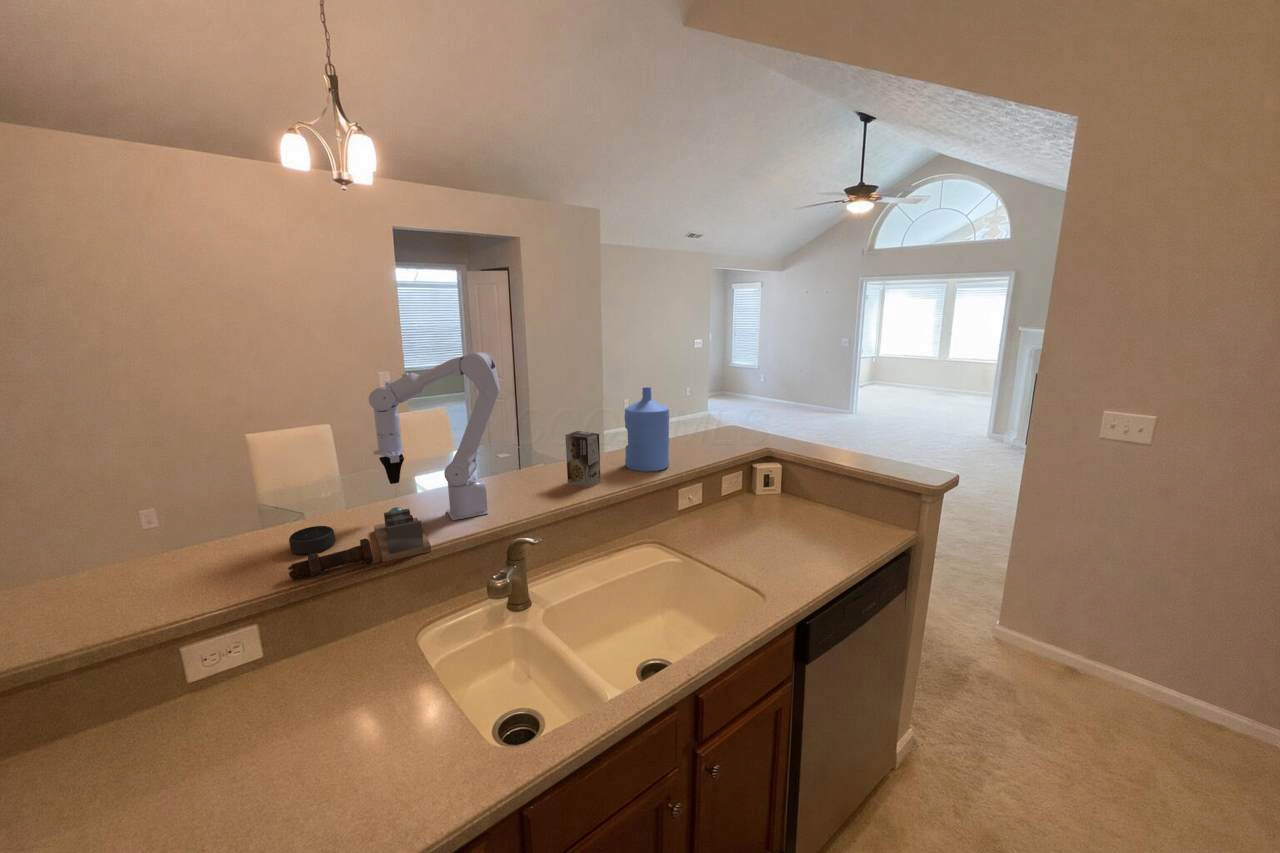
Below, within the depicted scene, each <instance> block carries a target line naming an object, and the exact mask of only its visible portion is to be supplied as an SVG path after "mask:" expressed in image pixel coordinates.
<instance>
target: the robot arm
mask: <svg viewBox="0 0 1280 853" xmlns="http://www.w3.org/2000/svg"><path fill="white" fill-rule="evenodd" d="M451 375H455V376H463V375H464V376H465V377H466V378H467V379H469V380H470V381H471V382H472V383H473V384H474V386H475V388H476V389H477V392H478V395H477V398H476V401H475V403H474V406H473V409H472V412H471V414H470V417H469V420H468V422H467V424H466V427H465V431H464V433H463V436H462V439H461V441H460V444H459V446H458V448H457V450H456V452H455V454H454V456H453V458H452V461H451V462H450V463H449V464H448V465H447V466H446V467H445V469H444V472H443V473H444V478H445V481H447V489H448V490H447V491H448V498H449V500H448V501H449V503H448V504H449V509H446V513H447V514H448V516H449V518H450V519H451V520H452V521H456V520H457V521H459V520H462V519H467V518H473V517H477V516H483V515H487V514H489V511H488V510H489V509H488V498H487V488H486V487H487V486H486V483H485V481H484V479H482V478H478V479H477V478H476V476H475V475H474V473H475V471H476V469H477V458H478V454H479V453H478V451H479V448H480V446H481V443H482V440H483V438H484V435H485V432H486V429H487V427H488V424H489V422H490V419H491V416H492V414H493V411H494V408H495V407H496V404H497V400H498V398H499V395H500V392H501V385H500V381H499V376H498V373H497V364H496V362H495V361H494V359H493V357H492V356H491V355H490V354H489V353H488V352H485V351H482V350H479V351H478V350H477V351H475V352H473V353H471V352H470V353H468V354H465V355H462V356H458V357H455V358H450V359H448V360H446V361H445V362H443V363H441V364H439V365H437V366H435V367H432V368H430V369H429V370H428V371H427V370H426V371H425V372H423V373H421V374H419V373H418V374H417V373H415V372H410V373H409V372H405V373H403V374H401V377H399V378H397V379H396V380H393V381H387V382H385V386H382V387H376V388H374V390H372V391H371V392H370V393H369V395H368V403H369V405H370V407H372V408H373V413H374V423H375V433H376V440H377V442H376V443H377V449H376V450H373V454H374V455H380V457H379V458H378V459H379V461H380V463H381V465H382V466H383V467H384V470H385V473H386V476H387V479H388V482H389V484H390V485H394V484H399V483H400V480H401V470H402V465H403V463H404V461H405V456H404V455H403V454H402V453H403V452H404V451H405V450H404V447H403V441H402V431H401V422H400V414H399V404H403V403H405V402H407V401H409V400H411V399H413V398H415V397H418V396H420V395H422V394H424V392H425V391H426V387H427V386H428V385H430V384H433V383H435V382H437V381H440V380H442V379H444V378H446V377H449V376H451Z"/></svg>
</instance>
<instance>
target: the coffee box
mask: <svg viewBox="0 0 1280 853" xmlns="http://www.w3.org/2000/svg"><path fill="white" fill-rule="evenodd" d="M564 437H565V451H566V452H565V453H566V473H567V474H566V475H567V483H568V484H571V485H576V486H581V487H587V488H591V487H593V486H596V485H598V484H600V483H601V453H600V452H601V451H600V449H601V448H600V433H596V432H588V431H581V430H580V431H579V430H577V431H573V432H570V433H567V434H565V436H564Z"/></svg>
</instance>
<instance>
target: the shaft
mask: <svg viewBox="0 0 1280 853" xmlns="http://www.w3.org/2000/svg"><path fill="white" fill-rule="evenodd" d="M402 509H403V508H401V507H397V506H396V507H392V508H391V509H390V510H388V512H391V511H397V510H402ZM402 516H403V515H400V516H394V517H392V518H397V517H402ZM399 524H404V522H401V523H396V524H395V525H399Z"/></svg>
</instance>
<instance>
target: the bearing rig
mask: <svg viewBox="0 0 1280 853" xmlns="http://www.w3.org/2000/svg"><path fill="white" fill-rule="evenodd" d="M401 509H402V510H397V511H391V512H389V511H387V512H383V518H384V519H383V520H384V523H380V524H374V525H373V530H374V535H375V539H376V541H377V545H378V548H379V554H380V556H381V557H380V558H381V560H382V563H385V562H390V561H395V560H399V559H405V558H407V557H413V556H416V555H421V554H422V555H423V554H426V553H429V552H432V545H431V543H430V541H429V539H428V537H427V535H426V533H425V530H424V529H423V527H422V520H419V518H418V517H413V515H412V514H411V509H410V508H404V509H403V508H401ZM400 515H403V516H402V517H397V518H392V517H394V516H400ZM401 522H404V524H399V525H395V524H396V523H401Z"/></svg>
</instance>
